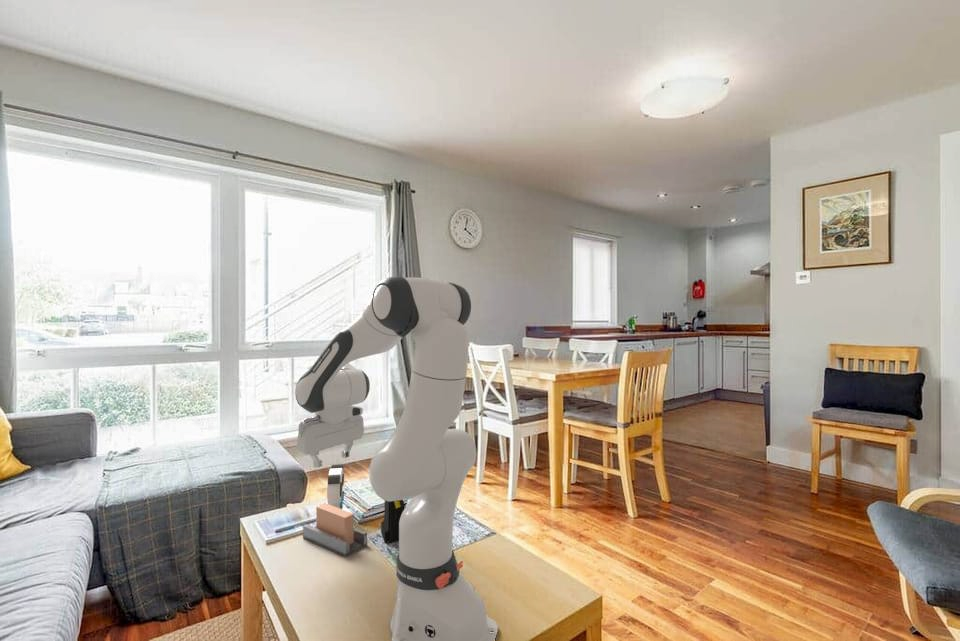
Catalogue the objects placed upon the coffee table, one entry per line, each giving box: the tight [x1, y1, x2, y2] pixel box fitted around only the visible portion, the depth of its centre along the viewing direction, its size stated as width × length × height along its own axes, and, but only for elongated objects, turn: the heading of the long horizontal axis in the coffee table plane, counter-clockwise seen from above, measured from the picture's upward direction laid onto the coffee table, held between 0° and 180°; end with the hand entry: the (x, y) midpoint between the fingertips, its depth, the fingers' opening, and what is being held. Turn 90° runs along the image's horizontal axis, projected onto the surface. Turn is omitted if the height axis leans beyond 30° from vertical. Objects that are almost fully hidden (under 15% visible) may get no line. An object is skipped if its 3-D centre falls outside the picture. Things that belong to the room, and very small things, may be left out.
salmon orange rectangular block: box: [315, 502, 355, 544], centre depth 124 cm, size 12×3×8 cm, turn 57°
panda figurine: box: [326, 463, 349, 512], centre depth 139 cm, size 12×11×15 cm
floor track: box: [302, 523, 368, 558], centre depth 124 cm, size 18×7×4 cm, turn 57°
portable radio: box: [380, 500, 406, 543], centre depth 127 cm, size 8×6×25 cm
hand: (332, 461), depth 124 cm, fingers open, 8 cm apart
